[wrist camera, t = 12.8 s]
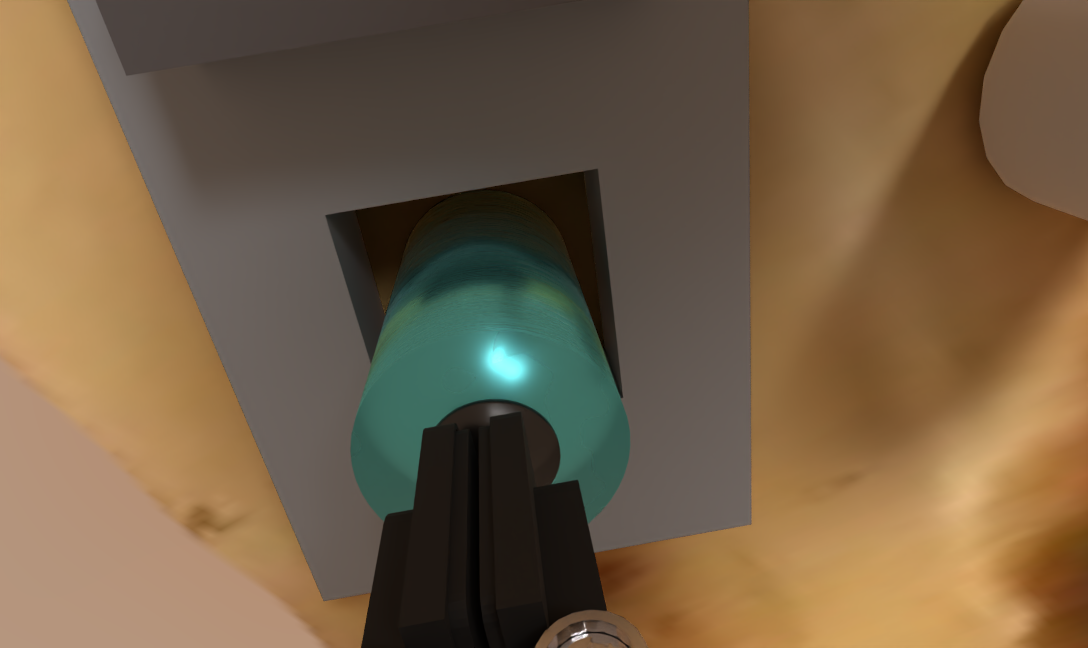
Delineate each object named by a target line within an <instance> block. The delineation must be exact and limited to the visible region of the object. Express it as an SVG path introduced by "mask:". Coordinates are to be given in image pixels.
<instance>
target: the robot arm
mask: <svg viewBox="0 0 1088 648" xmlns="http://www.w3.org/2000/svg"><path fill="white" fill-rule="evenodd" d="M361 648H648V646H647V644H646V642H645V640H644V639H643V637H642V636H641V634H640V633H639V631H638V630H637V628H636V627H635V626H634V625H632V624H631V623H630V622H628V621H627V620H626V619H625V618H623V617H621V616H619V615H616V614H613V613H611V612H608V611H607V609H606V604H605V600H604V595H603V591H602V586H601V581H600V577H599V572H598V568H597V563H596V559H595V554H594V549H593V545H592V540H591V536H590V531H589V526H588V522H587V517H586V513H585V508H584V504H583V499H582V494H581V490H580V485H579V481H578V480H573V481H567V482H562V483H556V484H551V485H545V486H540V487H536V483H535V478H534V473H533V468H532V463H531V458H530V453H529V448H528V442H527V437H526V432H525V427H524V422H523V417H522V413H521V411H519V412H514V413H508V414H502V415H497V416H491V417H490V425H489V426H483V427H479V463H478V459H477V455H476V451H475V447H474V443H473V438H472V435H471V431H470V429H466V430H461V431H459V428H458V426H457V424H456V423H452V424H446V425H440V426H435V427H429V428H425V429H423V434H422V442H421V450H420V458H419V466H418V474H417V482H416V490H415V498H414V506H413V509H412V510H406V511H401V512H395V513H390V514H387V516H386V517H385V520H384V524H383V529H382V534H381V540H380V545H379V551H378V557H377V562H376V568H375V573H374V579H373V585H372V590H371V596H370V601H369V607H368V613H367V618H366V624H365V629H364V635H363V640H362V646H361Z"/></svg>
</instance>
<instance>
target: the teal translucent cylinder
mask: <svg viewBox="0 0 1088 648" xmlns="http://www.w3.org/2000/svg"><path fill="white" fill-rule="evenodd" d="M519 411H521V413H522V417H523V422H524V427H525V432H526V437H527V442H528V448H529V453H530V458H531V463H532V468H533V473H534V478H535V483H536V487H540V486H545V485H551V484H556V483H562V482H567V481H573V480H578V481H579V485H580V490H581V494H582V499H583V504H584V508H585V513H586V517H587V522H588V523H590V522H591V521H592V520H593V519H594V518H595V517H596V516H597V515H598V514H599V513H600V512H601V511H602V510H603V509H604V508H605V506H606V505H607V504H608V503H609V502H610V500H611V499H612V497H613V496H614V494H615V492H616V491H617V489H618V488H619V485H620V483H621V481H622V479H623V477H624V474H625V471H626V468H627V464H628V461H629V453H630V428H629V423H628V418H627V415H626V412H625V409H624V406H623V403H622V401H621V398H620V395H619V392H618V390H617V387H616V384H615V381H614V379H613V376H612V373H611V370H610V368H609V365H608V362H607V359H606V356H605V354H604V351H603V348H602V345H601V343H600V340H599V337H598V334H597V332H596V329H595V326H594V323H593V320H592V318H591V315H590V312H589V309H588V307H587V304H586V301H585V298H584V296H583V293H582V290H581V287H580V285H579V282H578V279H577V276H576V273H575V271H574V268H573V265H572V262H571V260H570V257H569V254H568V251H567V249H566V246H565V243H564V240H563V238H562V236H561V234H560V232H559V230H558V228H557V227H556V225H555V224H554V223H553V221H552V220H551V219H550V218H549V217H548V216H547V215H546V214H545V213H544V212H543V211H542V210H541V209H540V208H538V207H537V206H536V205H534V204H533V203H531V202H529V201H528V200H526V199H524V198H521V197H519V196H517V195H514V194H511V193H507V192H503V191H497V190H475V191H468V192H464V193H460V194H457V195H454V196H452V197H449V198H447V199H445V200H444V201H442V202H440V203H438V204H437V205H435V206H434V207H433V208H431V209H430V210H429V211H428V212H427V213H426V214H425V215H424V216H423V217H422V218H421V219H420V220H419V222H418V223H417V224H416V225H415V227H414V229H413V231H412V232H411V234H410V236H409V239H408V241H407V244H406V247H405V250H404V254H403V257H402V260H401V264H400V267H399V271H398V274H397V277H396V281H395V284H394V288H393V291H392V295H391V298H390V301H389V305H388V308H387V312H386V315H385V319H384V322H383V325H382V329H381V332H380V336H379V339H378V343H377V346H376V349H375V353H374V356H373V360H372V363H371V366H370V370H369V373H368V377H367V380H366V384H365V387H364V390H363V394H362V397H361V401H360V404H359V408H358V411H357V414H356V418H355V422H354V426H353V430H352V434H351V448H350V452H351V462H352V468H353V472H354V475H355V479H356V482H357V484H358V486H359V488H360V491H361V493H362V495H363V496H364V498H365V499H366V501H367V503H368V504H369V506H370V507H371V508H372V509H373V510H374V512H375V513H376V514H377V515H378V516H379V517H380V518H381V519H382V520H383V521H384V520H385V517H386V516H387V514H390V513H395V512H401V511H406V510H412V509H413V506H414V498H415V490H416V482H417V474H418V466H419V458H420V450H421V442H422V434H423V429H425V428H429V427H435V426H440V425H446V424H452V423H456V424H457V426H458V428H459V431H461V430H466V429H470V431H471V435H472V438H473V443H474V447H475V451H476V455H477V459H478V463H479V427H483V426H489V425H490V417H491V416H497V415H502V414H508V413H514V412H519Z"/></svg>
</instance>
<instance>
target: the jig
mask: <svg viewBox="0 0 1088 648" xmlns="http://www.w3.org/2000/svg"><path fill="white" fill-rule="evenodd" d="M67 1H68V3H69V6H70V8H71V10H72V13H73V15H74V17H75V20H76V22H77V25H78V27H79V29H80V32H81V34H82V36H83V39H84V41H85V43H86V46H87V48H88V50H89V53H90V55H91V57H92V60H93V62H94V64H95V67H96V69H97V71H98V74H99V76H100V78H101V81H102V83H103V85H104V88H105V90H106V92H107V95H108V97H109V99H110V102H111V104H112V106H113V109H114V111H115V114H116V116H117V118H118V121H119V123H120V125H121V128H122V130H123V132H124V135H125V137H126V139H127V142H128V144H129V146H130V149H131V151H132V153H133V156H134V158H135V160H136V163H137V165H138V167H139V170H140V172H141V174H142V177H143V179H144V181H145V184H146V186H147V188H148V191H149V193H150V195H151V198H152V200H153V203H154V205H155V207H156V210H157V212H158V214H159V217H160V219H161V221H162V224H163V226H164V228H165V231H166V233H167V235H168V238H169V240H170V242H171V245H172V247H173V249H174V252H175V254H176V256H177V259H178V261H179V263H180V266H181V268H182V270H183V273H184V275H185V277H186V280H187V282H188V284H189V287H190V289H191V292H192V294H193V296H194V299H195V301H196V303H197V306H198V308H199V310H200V313H201V315H202V317H203V320H204V322H205V324H206V327H207V329H208V331H209V334H210V336H211V338H212V341H213V343H214V345H215V348H216V350H217V352H218V355H219V357H220V359H221V362H222V364H223V366H224V369H225V371H226V373H227V376H228V378H229V381H230V383H231V385H232V388H233V390H234V392H235V395H236V397H237V399H238V402H239V404H240V406H241V409H242V411H243V413H244V416H245V418H246V420H247V423H248V425H249V427H250V430H251V432H252V434H253V437H254V439H255V441H256V444H257V446H258V448H259V451H260V453H261V455H262V458H263V460H264V462H265V465H266V467H267V470H268V472H269V474H270V477H271V479H272V481H273V484H274V486H275V488H276V491H277V493H278V495H279V498H280V500H281V502H282V505H283V507H284V509H285V512H286V514H287V516H288V519H289V521H290V523H291V526H292V528H293V530H294V533H295V535H296V537H297V540H298V542H299V544H300V547H301V549H302V551H303V554H304V556H305V559H306V561H307V563H308V566H309V568H310V570H311V573H312V575H313V577H314V580H315V582H316V584H317V587H318V589H319V591H320V594H321V596H322V598H323V601H328V600H334V599H339V598H345V597H350V596H356V595H361V594H367V593H371V590H372V585H373V579H374V573H375V568H376V562H377V557H378V551H379V545H380V540H381V534H382V529H383V524H384V521H383V520H382V519H381V518H380V517H379V516H378V515H377V514H376V513H375V512H374V510H373V509H372V508H371V507H370V506H369V504H368V503H367V501H366V499H365V498H364V496H363V495H362V493H361V491H360V488H359V486H358V484H357V482H356V479H355V475H354V472H353V468H352V462H351V452H350V448H351V434H352V430H353V426H354V422H355V418H356V414H357V411H358V408H359V404H360V401H361V397H362V394H363V390H364V387H365V384H366V380H367V377H368V373H369V370H370V366H371V363H372V360H373V356H374V353H375V349H376V346H377V343H378V339H379V336H380V332H381V329H382V325H383V322H384V319H385V314H384V311H383V307H382V304H381V300H380V297H379V293H378V290H377V286H376V283H375V279H374V276H373V272H372V269H371V265H370V262H369V258H368V255H367V251H366V248H365V244H364V241H363V237H362V234H361V230H360V227H359V223H358V220H357V216H356V213H355V210H357V209H363V208H369V207H375V206H381V205H387V204H393V203H399V202H405V201H410V200H416V199H422V198H428V197H434V196H440V195H446V194H452V193H458V192H463V191H469V190H475V189H481V188H487V187H493V186H499V185H505V184H510V183H516V182H522V181H528V180H534V179H540V178H546V177H552V176H558V175H563V174H569V173H575V172H581V171H584V179H585V187H586V196H587V204H588V212H589V221H590V229H591V237H592V246H593V254H594V262H595V271H596V279H597V287H598V295H599V304H600V312H601V320H602V329H603V337H604V345H605V348H603V351H604V354H605V356H606V359H607V362H608V365H609V368H610V370H611V373H612V376H613V379H614V381H615V384H616V387H617V390H618V392H619V395H620V398H621V401H622V403H623V406H624V409H625V412H626V415H627V418H628V423H629V428H630V453H629V461H628V464H627V468H626V471H625V474H624V477H623V479H622V481H621V483H620V485H619V488H618V489H617V491H616V492H615V494H614V496H613V497H612V499H611V500H610V502H609V503H608V504H607V505H606V506H605V508H604V509H603V510H602V511H601V512H600V513H599V514H598V515H597V516H596V517H595V518H594V519H593V520H592V521H591V522H590V523H588V526H589V531H590V536H591V540H592V545H593V549H594V553H595V552H601V551H606V550H612V549H617V548H623V547H628V546H634V545H640V544H645V543H651V542H656V541H662V540H667V539H673V538H678V537H684V536H690V535H695V534H701V533H706V532H712V531H717V530H723V529H729V528H734V527H740V526H745V525H751V347H750V160H749V0H67Z"/></svg>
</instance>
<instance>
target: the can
mask: <svg viewBox="0 0 1088 648" xmlns="http://www.w3.org/2000/svg"><path fill="white" fill-rule="evenodd" d="M979 124H980V129H981V133H982V138H983V143H984V148H985V152H986V157H987V159H988V161H989V162H990V163H991V165H992V166H993V168H994V169H995V171H996V172H997V174H998V175H999V176H1000V178H1001V179H1002V181H1003V182H1004V184H1005V185H1006V186H1008V187H1010V188H1011V189H1013V190H1015V191H1016V192H1018V193H1020V194H1022V195H1023V196H1025V197H1027V198H1029V199H1030V200H1032V201H1034V202H1037V203H1040V204H1042V205H1045V206H1048V207H1051V208H1054V209H1056V210H1059V211H1062V212H1065V213H1067V214H1070V215H1073V216H1076V217H1079V218H1081V219H1084V220H1087V221H1088V0H1023V1H1022V3H1021V4H1020V6H1019V7H1018V8H1017V10H1016V11H1015V13H1014V14H1013V16H1012V17H1011V19H1010V20H1009V21H1008V23H1007V24H1006V26H1005V27H1004V29H1003V30H1002V33H1001V35H1000V38H999V40H998V43H997V45H996V48H995V50H994V53H993V56H992V58H991V61H990V63H989V66H988V68H987V71H986V73H985V76H984V81H983V90H982V99H981V107H980V116H979Z"/></svg>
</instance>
